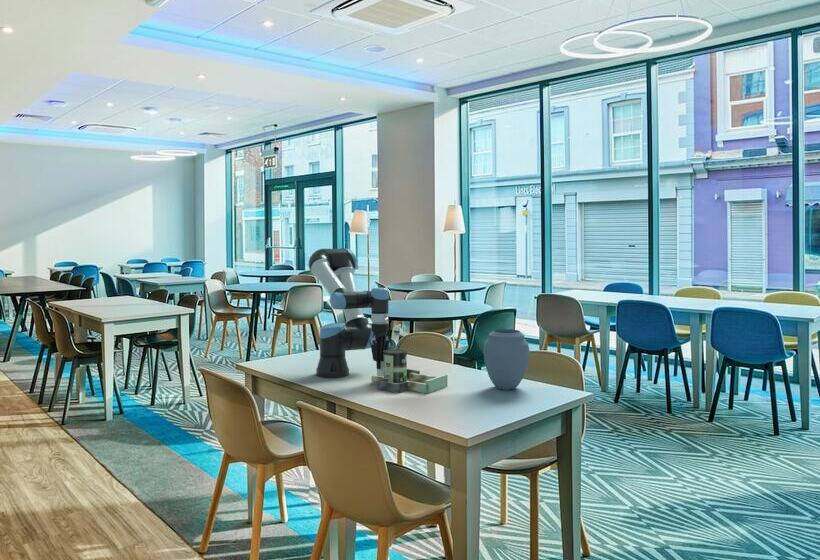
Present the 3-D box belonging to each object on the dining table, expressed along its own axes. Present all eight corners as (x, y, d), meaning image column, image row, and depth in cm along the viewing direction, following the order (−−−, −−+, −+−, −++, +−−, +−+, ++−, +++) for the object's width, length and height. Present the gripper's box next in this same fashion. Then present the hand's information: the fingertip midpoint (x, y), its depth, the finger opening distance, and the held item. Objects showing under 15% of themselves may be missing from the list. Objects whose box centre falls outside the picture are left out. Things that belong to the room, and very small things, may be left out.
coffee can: (408, 381, 291) (409, 349, 290) (404, 386, 281) (404, 353, 280) (386, 379, 293) (386, 348, 292) (380, 385, 283) (380, 352, 282)
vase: (524, 395, 265) (525, 335, 264) (477, 391, 272) (478, 332, 270) (532, 385, 284) (533, 329, 282) (488, 381, 290) (489, 326, 289)
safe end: (417, 391, 271) (417, 379, 271) (437, 384, 284) (437, 373, 283) (428, 393, 268) (428, 381, 268) (447, 386, 281) (447, 374, 281)
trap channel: (362, 386, 279) (362, 378, 279) (400, 375, 302) (400, 367, 302) (409, 394, 266) (409, 386, 266) (445, 382, 289) (445, 374, 289)
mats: (366, 386, 280) (366, 386, 280) (400, 376, 301) (400, 375, 301) (398, 391, 270) (398, 391, 270) (431, 380, 291) (431, 380, 291)
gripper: (377, 324, 282) (378, 379, 283) (395, 321, 293) (395, 374, 294) (364, 323, 286) (364, 377, 288) (382, 320, 297) (382, 372, 298)
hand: (380, 375), depth 291 cm, fingers closed
